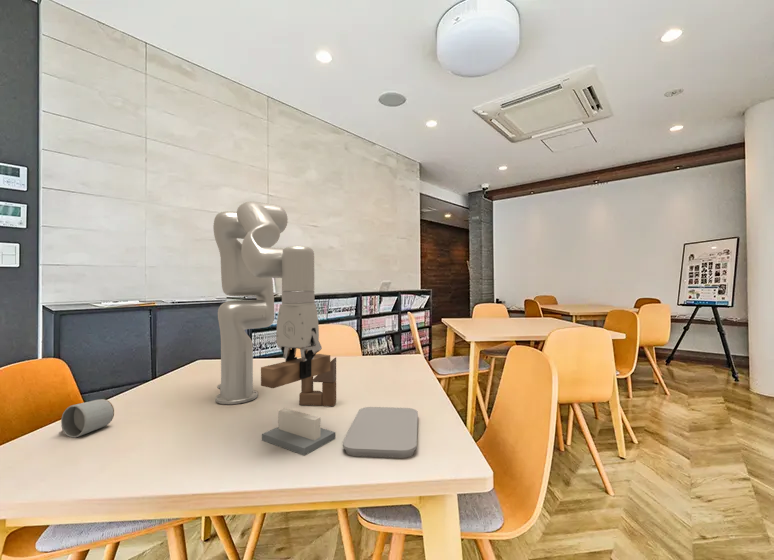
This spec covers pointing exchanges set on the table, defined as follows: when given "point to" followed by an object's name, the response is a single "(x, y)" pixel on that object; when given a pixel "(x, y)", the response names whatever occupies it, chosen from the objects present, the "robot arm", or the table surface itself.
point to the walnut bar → (292, 371)
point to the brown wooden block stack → (328, 388)
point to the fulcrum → (298, 432)
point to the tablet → (383, 432)
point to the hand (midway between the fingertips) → (298, 375)
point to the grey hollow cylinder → (86, 417)
